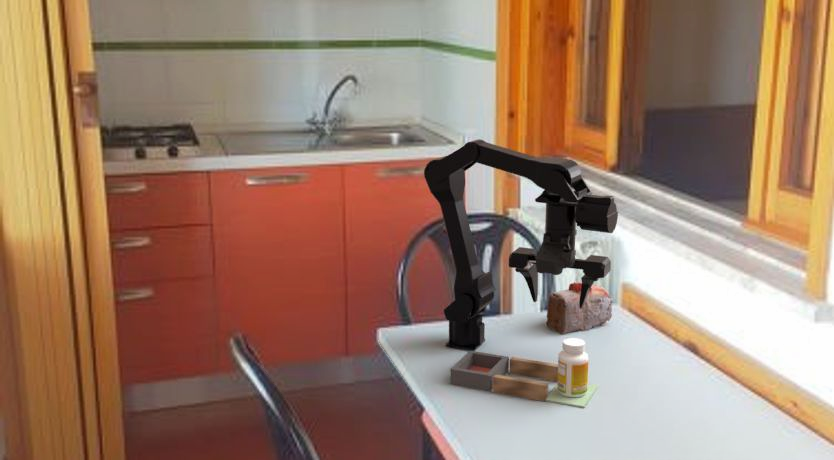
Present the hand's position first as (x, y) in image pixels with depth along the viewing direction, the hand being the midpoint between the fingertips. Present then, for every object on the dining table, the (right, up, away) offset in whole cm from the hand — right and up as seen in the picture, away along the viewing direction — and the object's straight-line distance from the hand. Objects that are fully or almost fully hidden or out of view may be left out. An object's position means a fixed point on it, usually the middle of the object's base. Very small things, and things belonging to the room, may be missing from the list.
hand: (557, 304), depth 180 cm
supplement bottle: (+1, -15, -11) cm, 19 cm away
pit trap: (-15, -13, -4) cm, 21 cm away
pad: (+1, -15, -11) cm, 19 cm away
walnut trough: (-7, -14, -8) cm, 18 cm away
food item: (+8, -7, +23) cm, 25 cm away
